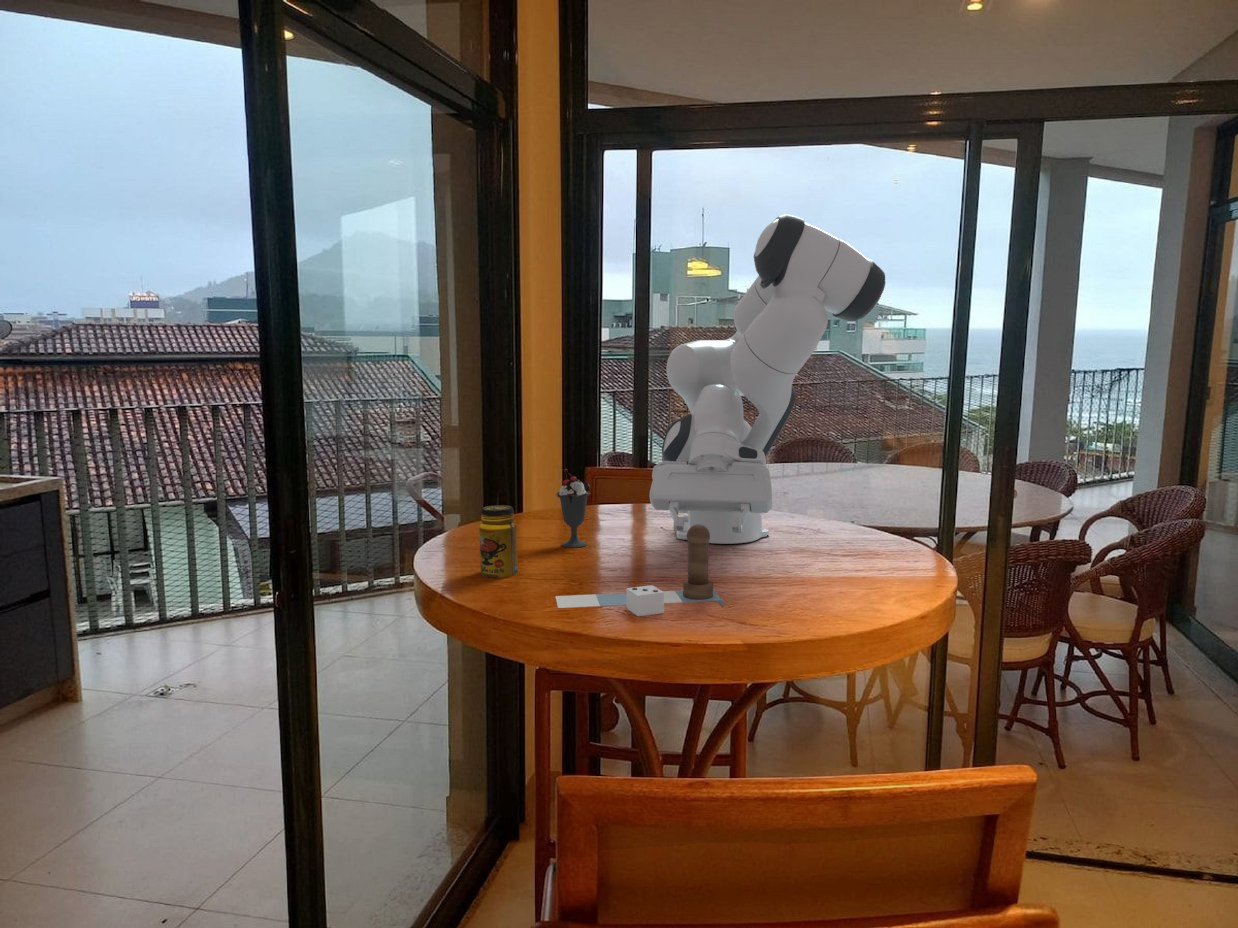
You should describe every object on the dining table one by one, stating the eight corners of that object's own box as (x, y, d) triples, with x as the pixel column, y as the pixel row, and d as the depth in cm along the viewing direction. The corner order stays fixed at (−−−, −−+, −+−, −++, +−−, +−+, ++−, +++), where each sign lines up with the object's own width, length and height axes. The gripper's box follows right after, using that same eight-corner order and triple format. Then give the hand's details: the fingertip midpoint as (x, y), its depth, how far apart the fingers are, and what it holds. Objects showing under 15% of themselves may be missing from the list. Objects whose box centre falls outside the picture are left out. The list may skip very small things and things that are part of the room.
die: (626, 615, 122) (626, 587, 121) (652, 612, 123) (652, 584, 123) (637, 623, 118) (637, 594, 118) (664, 620, 120) (664, 591, 119)
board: (555, 602, 128) (555, 596, 128) (713, 595, 131) (713, 589, 131) (558, 614, 122) (558, 607, 122) (723, 606, 125) (723, 600, 125)
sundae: (552, 548, 164) (551, 469, 162) (563, 540, 170) (561, 465, 168) (585, 549, 162) (585, 470, 160) (595, 542, 168) (594, 466, 166)
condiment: (474, 584, 138) (472, 511, 137) (483, 571, 147) (481, 502, 145) (520, 584, 138) (518, 511, 137) (526, 571, 147) (524, 501, 145)
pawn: (678, 593, 129) (678, 523, 127) (703, 589, 130) (704, 520, 129) (692, 601, 125) (692, 528, 123) (718, 597, 126) (719, 525, 125)
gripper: (651, 449, 146) (641, 516, 138) (773, 451, 142) (770, 520, 134) (656, 472, 151) (646, 538, 143) (774, 474, 147) (771, 542, 139)
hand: (707, 529), depth 138 cm, fingers open, 8 cm apart
